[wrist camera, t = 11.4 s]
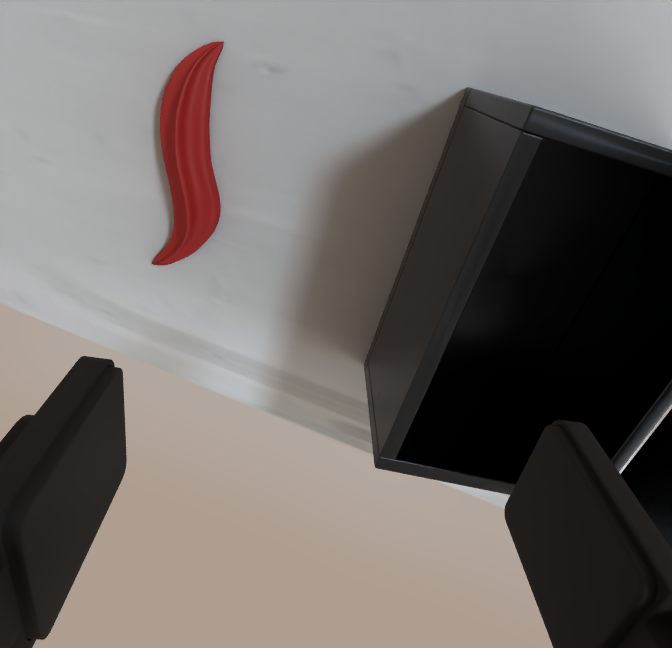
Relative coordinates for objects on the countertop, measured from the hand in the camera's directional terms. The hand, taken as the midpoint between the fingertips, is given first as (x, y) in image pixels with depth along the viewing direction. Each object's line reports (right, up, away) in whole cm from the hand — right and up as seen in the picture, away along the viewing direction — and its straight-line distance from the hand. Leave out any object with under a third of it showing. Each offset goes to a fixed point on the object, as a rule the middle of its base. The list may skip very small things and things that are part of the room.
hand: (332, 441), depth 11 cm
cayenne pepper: (-7, +11, +14) cm, 19 cm away
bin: (+10, +6, +17) cm, 21 cm away
